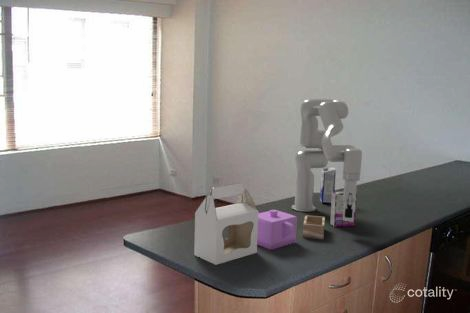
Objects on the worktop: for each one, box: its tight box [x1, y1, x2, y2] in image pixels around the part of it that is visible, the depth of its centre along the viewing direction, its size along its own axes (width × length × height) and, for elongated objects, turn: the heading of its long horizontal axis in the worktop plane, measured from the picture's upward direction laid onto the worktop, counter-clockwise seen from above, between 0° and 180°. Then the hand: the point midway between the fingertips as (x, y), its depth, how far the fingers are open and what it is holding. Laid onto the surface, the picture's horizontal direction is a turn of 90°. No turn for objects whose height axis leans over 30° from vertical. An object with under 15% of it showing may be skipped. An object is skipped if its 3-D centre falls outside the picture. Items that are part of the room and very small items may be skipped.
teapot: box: [257, 209, 298, 251], centre depth 220 cm, size 15×25×14 cm, turn 41°
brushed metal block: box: [343, 200, 355, 221], centre depth 230 cm, size 4×4×9 cm
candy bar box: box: [329, 190, 358, 228], centre depth 247 cm, size 11×5×16 cm, turn 105°
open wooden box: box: [302, 214, 326, 240], centre depth 233 cm, size 15×9×6 cm, turn 169°
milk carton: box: [319, 166, 337, 205], centre depth 288 cm, size 7×7×20 cm
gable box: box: [193, 182, 259, 266], centre depth 202 cm, size 22×13×28 cm, turn 133°
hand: (348, 215), depth 231 cm, fingers closed on brushed metal block, 4 cm apart
